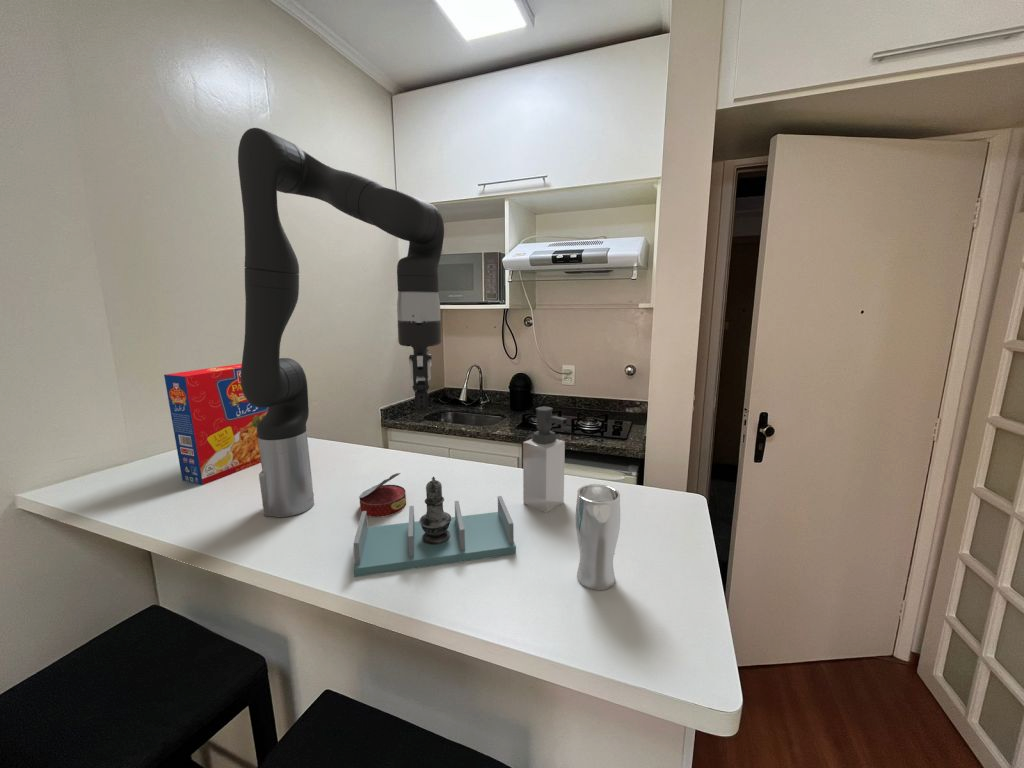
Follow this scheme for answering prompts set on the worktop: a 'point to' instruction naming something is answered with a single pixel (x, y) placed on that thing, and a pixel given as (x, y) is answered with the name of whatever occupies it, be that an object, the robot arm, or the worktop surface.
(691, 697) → the worktop surface
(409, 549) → the rack
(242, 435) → the pasta box
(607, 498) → the beer glass
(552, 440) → the soap dispenser
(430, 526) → the grey chess piece
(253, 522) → the worktop surface
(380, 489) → the canned food
